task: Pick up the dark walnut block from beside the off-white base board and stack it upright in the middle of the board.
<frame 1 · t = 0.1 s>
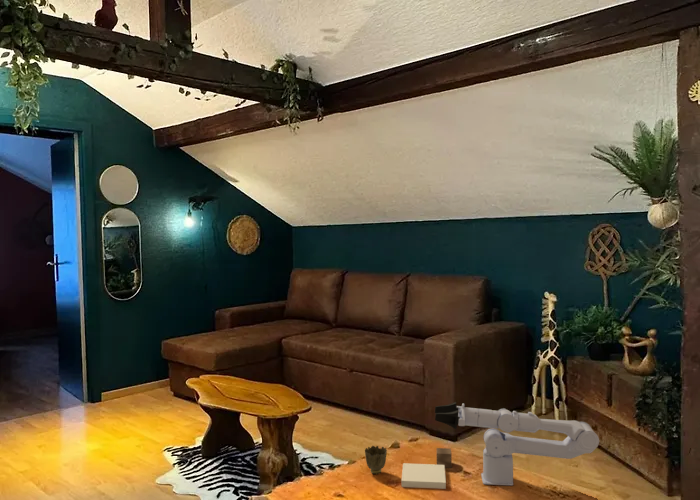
hand: (435, 413, 199), 22 cm above the table, tool horizontal, fingers open, 7 cm apart
base board: (423, 478, 200), on the table
cup: (375, 473, 205), on the table
walnut block: (443, 465, 211), on the table
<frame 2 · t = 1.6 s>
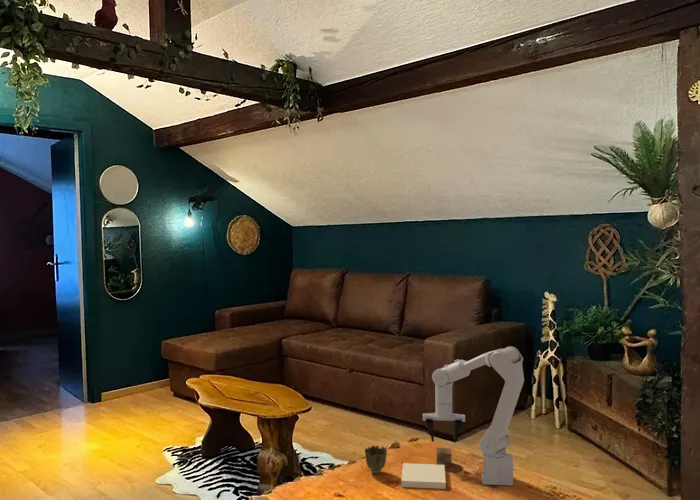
hand: (443, 440, 210), 8 cm above the table, tool pointing down, fingers open, 7 cm apart
nothing on the table moved.
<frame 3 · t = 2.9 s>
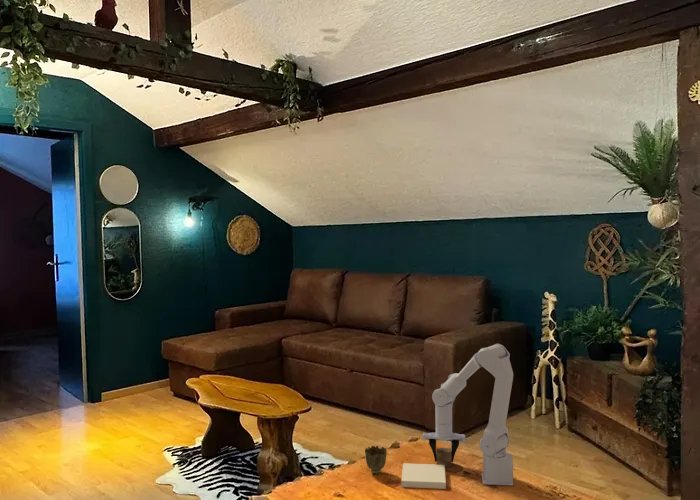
hand: (443, 460, 211), 1 cm above the table, tool pointing down, fingers closed on walnut block, 5 cm apart
walnut block: (443, 464, 211), on the table, touching gripper
everything else where it was.
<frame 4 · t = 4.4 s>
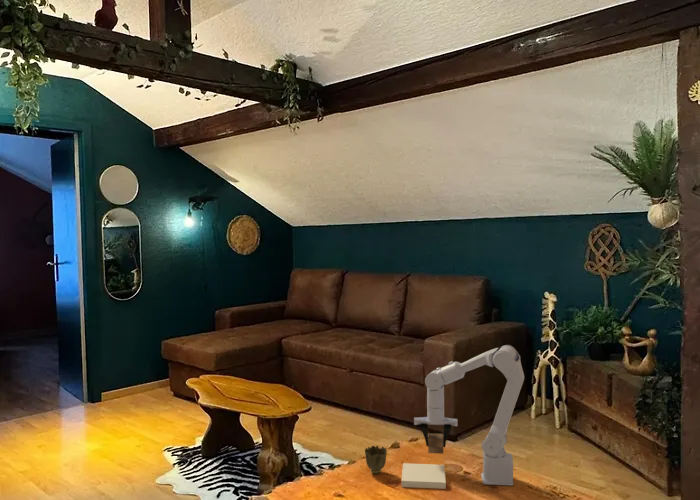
hand: (435, 445, 206), 8 cm above the table, tool pointing down, fingers closed on walnut block, 5 cm apart
walnut block: (435, 450, 206), point 7 cm above the table, touching gripper
everything else where it was.
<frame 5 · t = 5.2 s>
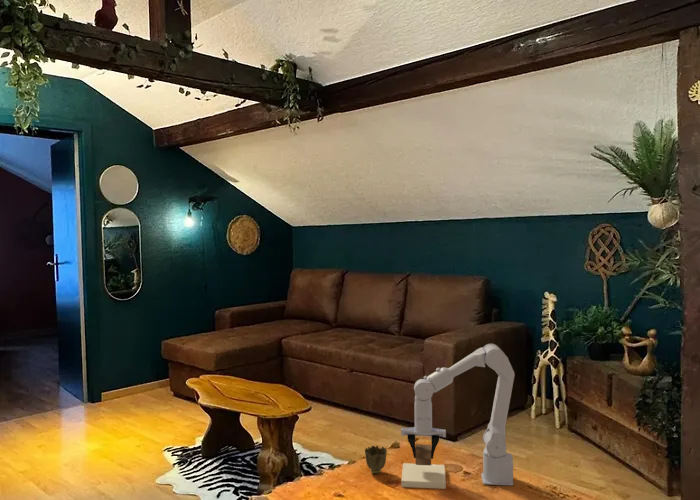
hand: (423, 457, 199), 7 cm above the table, tool pointing down, fingers closed on walnut block, 5 cm apart
walnut block: (423, 462, 200), point 5 cm above the table, touching gripper
everything else where it was.
when the fingers open (5 cm above the table, at t = 6.0 s): walnut block drops 1 cm, resting on base board.
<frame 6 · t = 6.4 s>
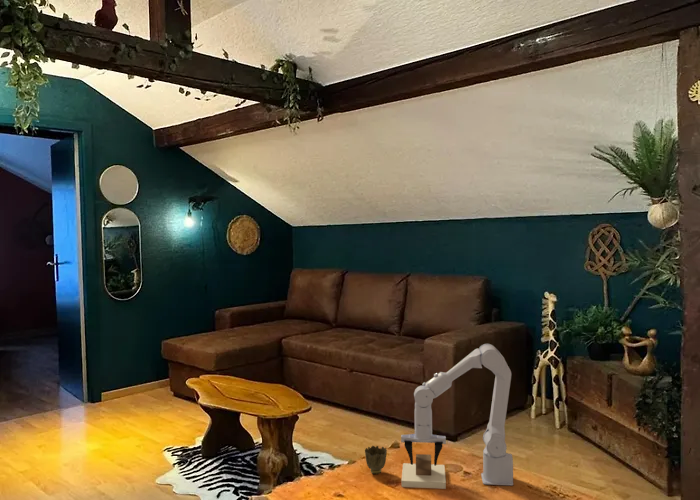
hand: (423, 463, 199), 5 cm above the table, tool pointing down, fingers open, 7 cm apart
walnut block: (423, 472, 200), point 2 cm above the table, touching base board
everything else where it was.
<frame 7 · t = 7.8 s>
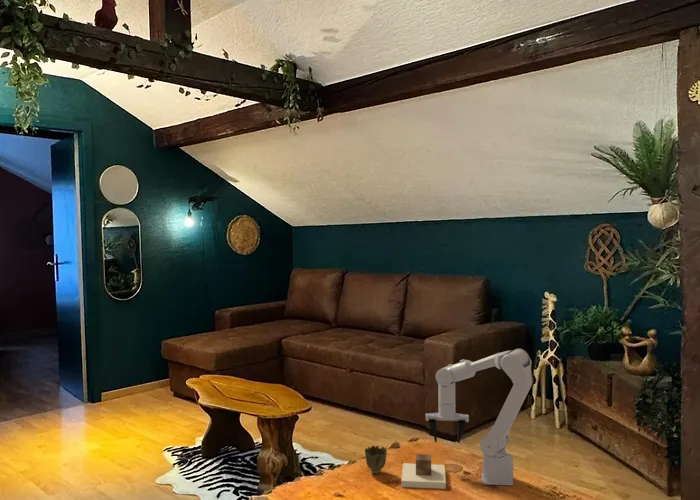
hand: (447, 441, 207), 9 cm above the table, tool pointing down, fingers open, 7 cm apart
nothing on the table moved.
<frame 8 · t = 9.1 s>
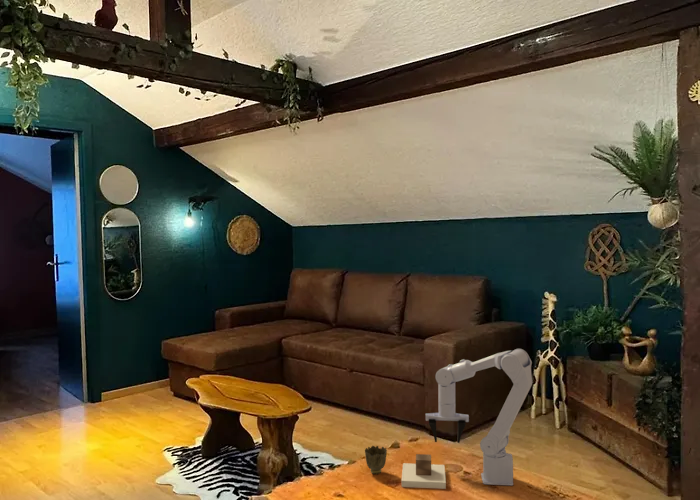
hand: (447, 441, 207), 9 cm above the table, tool pointing down, fingers open, 7 cm apart
nothing on the table moved.
at the end: walnut block 0.3 cm off-centre on the base board, point 2.0 cm above the base board's base; walnut block tilted 0°; the gripper is holding nothing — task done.
